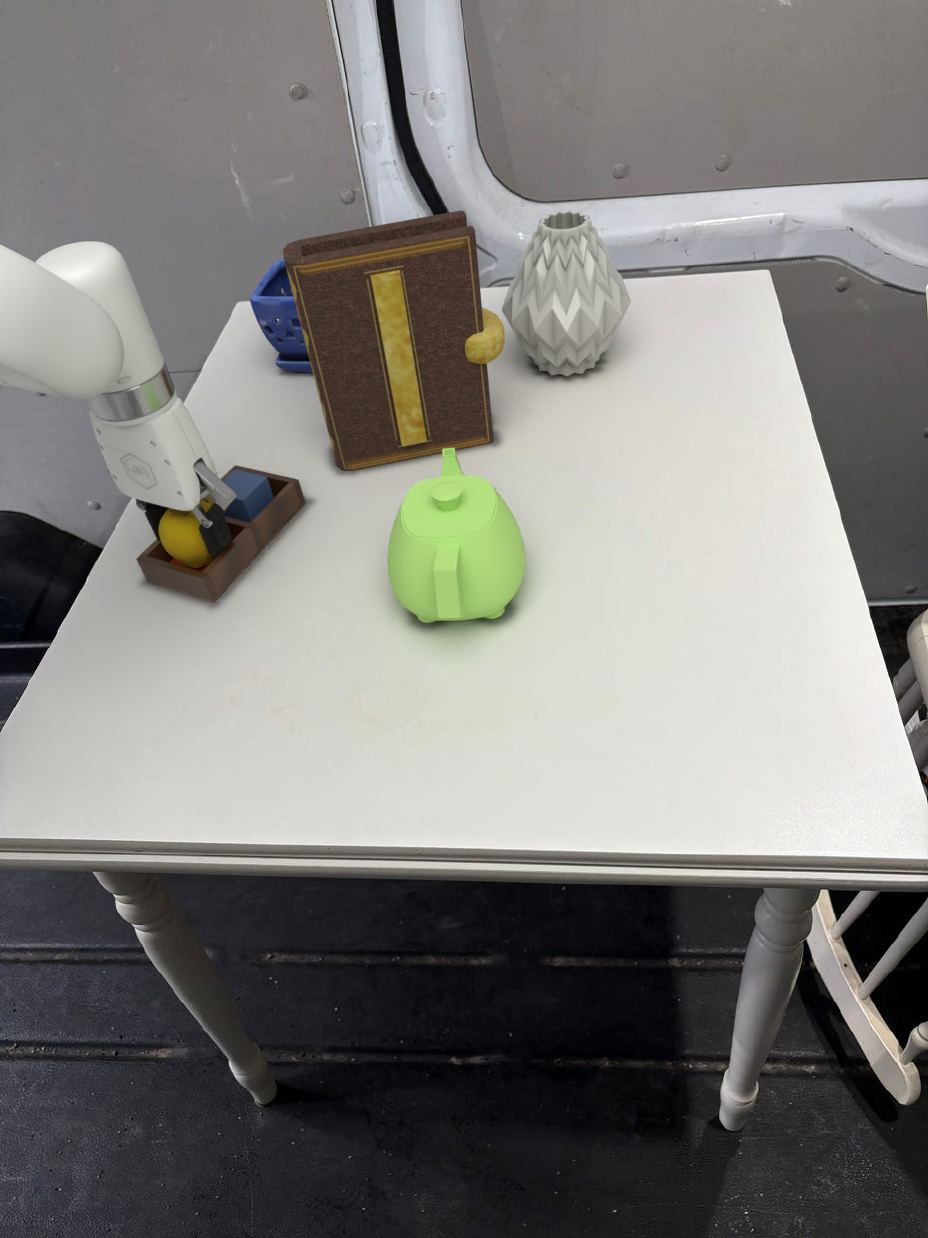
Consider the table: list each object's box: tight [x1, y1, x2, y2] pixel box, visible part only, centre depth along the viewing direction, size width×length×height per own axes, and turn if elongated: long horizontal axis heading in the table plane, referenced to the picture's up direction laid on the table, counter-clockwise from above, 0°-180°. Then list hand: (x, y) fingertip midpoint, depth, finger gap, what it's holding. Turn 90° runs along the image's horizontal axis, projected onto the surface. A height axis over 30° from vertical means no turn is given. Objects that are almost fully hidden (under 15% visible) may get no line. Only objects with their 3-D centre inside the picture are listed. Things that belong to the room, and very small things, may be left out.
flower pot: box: [249, 258, 313, 373], centre depth 117 cm, size 13×13×12 cm
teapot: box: [387, 448, 527, 624], centre depth 80 cm, size 20×13×13 cm
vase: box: [501, 209, 632, 378], centre depth 106 cm, size 16×16×18 cm
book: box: [282, 210, 506, 472], centre depth 94 cm, size 22×8×25 cm, turn 101°
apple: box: [159, 501, 216, 568], centre depth 88 cm, size 6×6×8 cm
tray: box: [135, 464, 307, 603], centre depth 92 cm, size 17×9×3 cm, turn 154°
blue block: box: [223, 470, 274, 523], centre depth 94 cm, size 4×4×4 cm
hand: (195, 539), depth 88 cm, fingers closed on apple, 6 cm apart
